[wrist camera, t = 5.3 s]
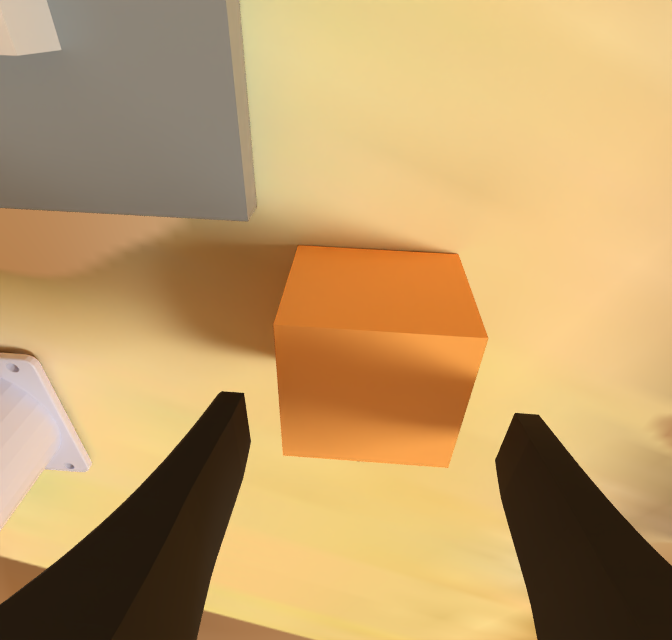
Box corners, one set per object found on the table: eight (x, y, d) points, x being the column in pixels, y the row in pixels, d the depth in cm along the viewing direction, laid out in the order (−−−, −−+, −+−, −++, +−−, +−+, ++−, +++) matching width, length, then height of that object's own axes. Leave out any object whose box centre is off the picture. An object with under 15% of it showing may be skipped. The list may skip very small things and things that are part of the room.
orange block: (301, 363, 18) (282, 455, 14) (298, 245, 14) (272, 324, 11) (431, 372, 17) (448, 467, 14) (458, 254, 14) (488, 338, 11)
